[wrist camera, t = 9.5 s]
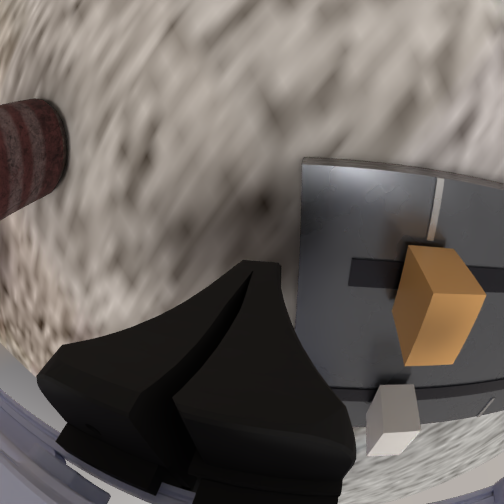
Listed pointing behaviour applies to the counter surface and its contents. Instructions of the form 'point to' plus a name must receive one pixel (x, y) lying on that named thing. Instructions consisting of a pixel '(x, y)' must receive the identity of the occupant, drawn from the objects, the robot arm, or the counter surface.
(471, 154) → the counter surface
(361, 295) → the console board
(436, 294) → the orange fader
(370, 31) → the counter surface
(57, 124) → the can
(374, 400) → the white fader
